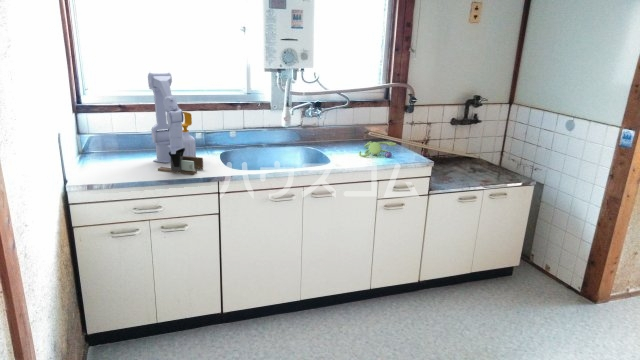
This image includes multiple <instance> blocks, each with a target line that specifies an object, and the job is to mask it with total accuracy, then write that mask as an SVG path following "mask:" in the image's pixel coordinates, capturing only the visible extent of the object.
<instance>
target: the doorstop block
mask: <svg viewBox="0 0 640 360" xmlns="http://www.w3.org/2000/svg"><path fill="white" fill-rule="evenodd" d="M181 160H183V158H182V156H181V157H180V165H179V167H174V165H173V161H172V159H171V161H170V168H171V171H181Z"/></svg>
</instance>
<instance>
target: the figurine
mask: <svg viewBox="0 0 640 360" xmlns="http://www.w3.org/2000/svg"><path fill="white" fill-rule="evenodd" d="M381 145H388V146H389V147H394V146H397V143H396V142H391V141H389V142H388V141H378V142H376V141H373V142H372V141H371V140H370V141H368V142H366V144H364V145H363V147H364V148H366V150H365V151H364V154H362V151H359V152H358V153H359V154H358V155H359V156H360V157H361V158H366V157H369V156H370V155H371V156H374V155H375V156H377V157H378V156H379V154H380V152H383V153H384V156H385V158H388V159H389V158H391V157H392V156H393V154H392V152H391V151H389V150H386V149H385V150H384V149H382V146H381ZM367 148H368V149H367Z"/></svg>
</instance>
